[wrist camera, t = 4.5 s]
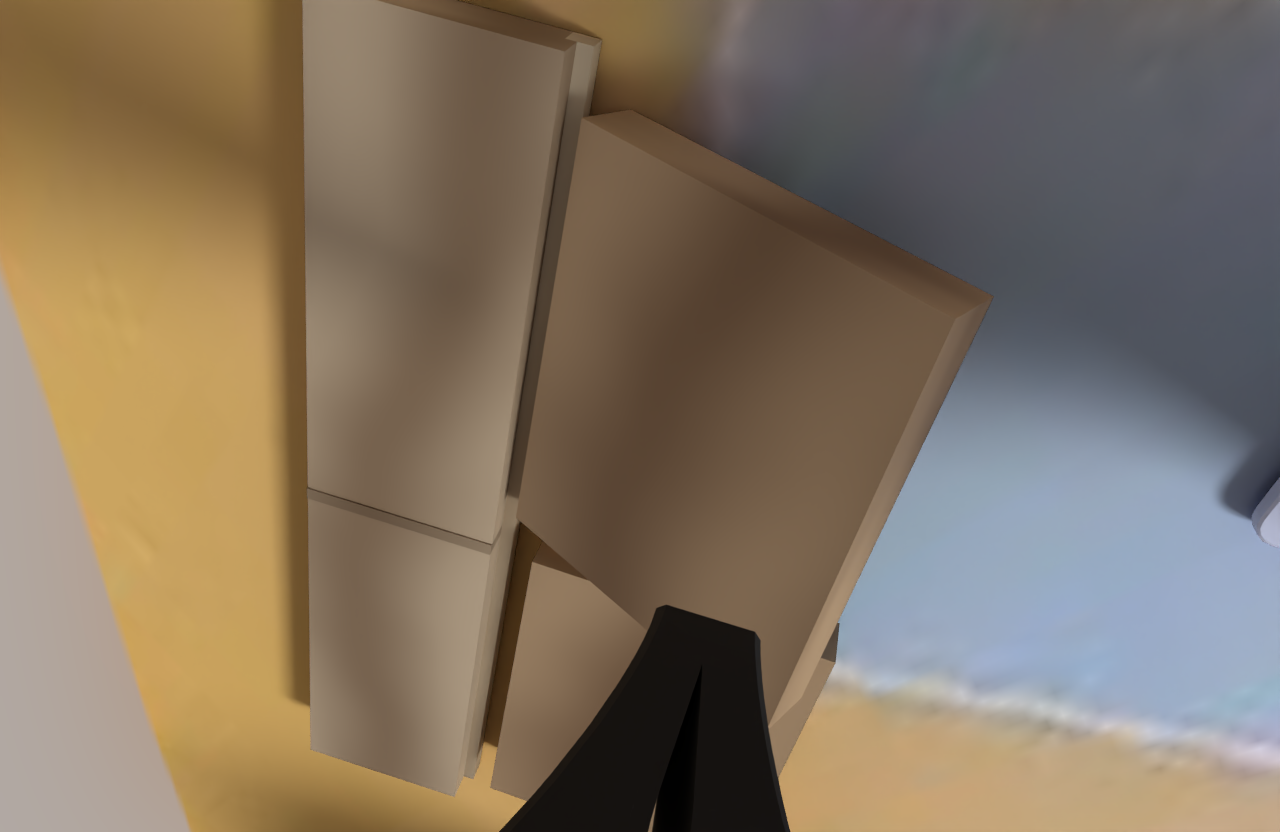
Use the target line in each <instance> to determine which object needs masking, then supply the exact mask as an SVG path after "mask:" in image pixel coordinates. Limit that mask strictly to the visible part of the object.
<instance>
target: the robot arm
mask: <svg viewBox="0 0 1280 832" xmlns="http://www.w3.org/2000/svg"><path fill="white" fill-rule="evenodd" d="M1251 517H1252V525H1253V527H1254V529H1255V531H1256V533H1257V535H1258V536H1259V537H1260V539H1261V540H1262V541H1263V542H1265V543H1267V544H1269V545H1271V546H1274V547H1277V548H1280V477H1279V479H1278V480H1277V481H1276V483H1275V484H1274V485H1273V486H1272V488H1271V489H1270V490H1269V491H1268V493H1267V494H1266V495H1265V497H1264V498H1263V499H1262V500H1261V502H1260V503H1259V504H1258V506H1257V507H1256V508H1255V510H1254V512H1253V514H1252V516H1251ZM655 804H656V807H655ZM654 808H655V814H654V820H653V827H652V832H790V829H789V825H788V821H787V817H786V813H785V809H784V804H783V800H782V796H781V791H780V786H779V781H778V776H777V771H776V766H775V761H774V756H773V751H772V746H771V740H770V734H769V728H768V721H767V714H766V707H765V700H764V691H763V682H762V670H761V640H760V639H759V637H758V635H757V634H756V632H754V631H751V630H748V629H745V628H741V627H738V626H735V625H732V624H728V623H725V622H722V621H719V620H715V619H712V618H709V617H706V616H702V615H699V614H696V613H692V612H689V611H686V610H683V609H679V608H676V607H673V606H670V605H663V606H660V607H657V608H656V610H655V613H654V616H653V619H652V622H651V624H650V627H649V629H648V631H647V633H646V635H645V637H644V639H643V641H642V643H641V645H640V647H639V649H638V651H637V653H636V654H635V656H634V658H633V660H632V661H631V663H630V665H629V666H628V668H627V670H626V671H625V673H624V675H623V676H622V678H621V680H620V681H619V683H618V684H617V686H616V687H615V689H614V690H613V691H612V693H611V694H610V696H609V697H608V699H607V700H606V702H605V703H604V705H603V706H602V707H601V709H600V710H599V712H598V713H597V715H596V716H595V718H594V719H593V721H592V722H591V723H590V725H589V726H588V727H587V729H586V730H585V731H584V733H583V734H582V735H581V736H580V738H579V739H578V740H577V742H576V743H575V744H574V745H573V747H572V748H571V749H570V750H569V752H568V753H567V754H566V755H565V757H564V758H563V759H562V760H561V762H560V763H559V764H558V766H557V767H556V768H555V769H554V771H553V772H552V773H551V774H550V775H549V777H548V778H547V779H546V780H545V781H544V783H543V784H542V785H541V786H540V787H539V788H538V789H537V791H536V792H535V793H534V794H533V795H532V796H531V798H530V799H529V800H528V801H527V802H526V803H525V804H524V805H523V807H522V808H521V809H520V810H519V811H518V812H517V813H516V814H515V815H514V816H513V817H512V818H511V820H510V821H509V822H508V823H507V824H506V825H505V826H504V827H503V828H502V829H501V830H500V831H499V832H648V830H649V826H650V822H651V818H652V815H653V811H654Z"/></svg>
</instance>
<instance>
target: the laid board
mask: <svg viewBox="0 0 1280 832" xmlns="http://www.w3.org/2000/svg"><path fill="white" fill-rule="evenodd" d="M302 6H303V97H304V188H305V278H306V369H307V460H308V488H307V498H308V551H309V641H310V732H311V750H313V751H316V752H320V753H323V754H326V755H329V756H332V757H335V758H338V759H341V760H344V761H347V762H350V763H353V764H356V765H359V766H362V767H365V768H368V769H371V770H374V771H377V772H380V773H383V774H386V775H389V776H393V777H396V778H399V779H402V780H405V781H408V782H411V783H414V784H417V785H420V786H423V787H426V788H429V789H432V790H435V791H438V792H441V793H444V794H447V795H450V796H453V797H455V795H456V793H457V790H458V788H459V786H460V783H461V781H462V779H463V776H465V777H468V778H471V779H474V776H475V774H476V772H477V769H478V767H479V764H480V758H481V752H482V746H483V741H484V735H485V729H486V723H487V717H488V711H489V705H490V699H491V693H492V687H493V681H494V676H495V670H496V664H497V658H498V652H499V646H500V640H501V634H502V628H503V622H504V616H505V611H506V605H507V599H508V593H509V587H510V581H511V575H512V569H513V563H514V557H515V552H516V546H517V540H518V534H519V528H520V522H521V521H519V520H518V519H517V518H516V513H517V507H518V501H519V495H520V489H521V483H522V477H523V471H524V465H525V459H526V453H527V446H528V440H529V434H530V428H531V422H532V416H533V410H534V404H535V398H536V392H537V386H538V380H539V374H540V368H541V361H542V355H543V349H544V343H545V337H546V331H547V325H548V319H549V313H550V307H551V301H552V295H553V289H554V283H555V276H556V270H557V264H558V258H559V252H560V246H561V240H562V234H563V228H564V222H565V216H566V210H567V204H568V198H569V191H570V185H571V179H572V173H573V167H574V161H575V155H576V149H577V143H578V137H579V131H580V125H581V119H582V118H583V117H589V114H590V108H591V103H592V97H593V91H594V85H595V79H596V73H597V67H598V61H599V55H600V49H601V44H602V40H601V39H598V38H594V37H590V36H587V35H583V34H579V33H576V32H572V31H568V30H565V29H561V28H557V27H554V26H550V25H546V24H543V23H539V22H535V21H531V20H528V19H524V18H520V17H517V16H513V15H509V14H506V13H502V12H498V11H495V10H491V9H487V8H484V7H480V6H476V5H473V4H469V3H465V2H462V1H458V0H302Z"/></svg>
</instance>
